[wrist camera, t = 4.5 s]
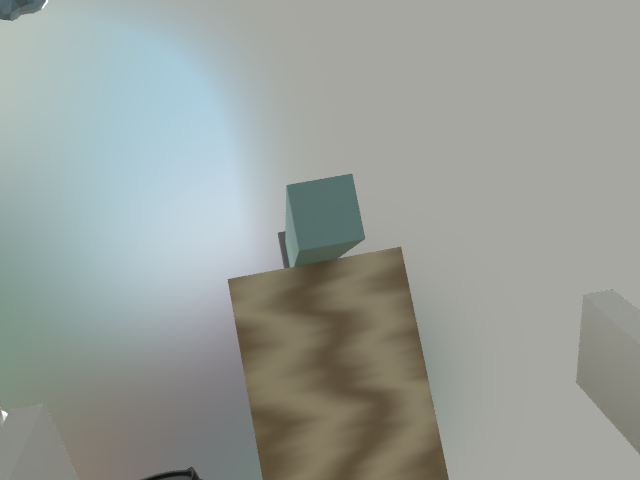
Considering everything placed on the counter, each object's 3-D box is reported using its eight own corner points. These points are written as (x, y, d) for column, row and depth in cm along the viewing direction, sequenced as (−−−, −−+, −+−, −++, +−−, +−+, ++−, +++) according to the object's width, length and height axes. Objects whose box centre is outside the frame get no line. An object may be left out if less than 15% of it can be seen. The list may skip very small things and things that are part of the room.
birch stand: (311, 754, 34) (227, 279, 37) (301, 596, 52) (246, 284, 55) (495, 706, 35) (401, 246, 38) (423, 567, 53) (363, 262, 56)
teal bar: (287, 253, 24) (271, 165, 24) (285, 277, 54) (278, 237, 54) (375, 236, 24) (358, 150, 25) (325, 269, 54) (317, 230, 55)
